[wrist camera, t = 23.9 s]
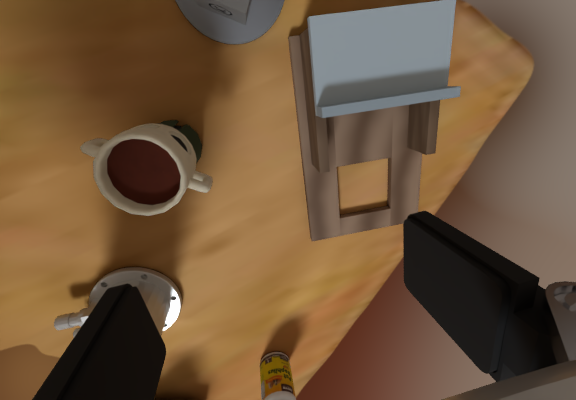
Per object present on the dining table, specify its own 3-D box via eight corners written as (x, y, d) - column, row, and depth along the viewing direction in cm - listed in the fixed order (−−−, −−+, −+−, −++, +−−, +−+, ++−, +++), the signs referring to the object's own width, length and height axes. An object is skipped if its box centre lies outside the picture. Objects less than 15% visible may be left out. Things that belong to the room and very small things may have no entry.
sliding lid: (315, 115, 30) (322, 118, 27) (307, 18, 26) (314, 10, 23) (441, 95, 31) (459, 96, 28) (450, 1, 27) (471, -8, 25)
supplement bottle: (292, 350, 51) (303, 410, 41) (284, 371, 53) (293, 432, 43) (263, 349, 49) (268, 409, 40) (256, 370, 51) (259, 433, 42)
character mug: (228, 135, 34) (220, 160, 22) (210, 185, 36) (195, 232, 24) (136, 98, 31) (71, 105, 19) (123, 155, 33) (57, 193, 21)
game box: (310, 238, 42) (319, 257, 37) (288, 38, 31) (296, 28, 26) (413, 217, 43) (435, 234, 39) (426, 20, 33) (458, 8, 28)
